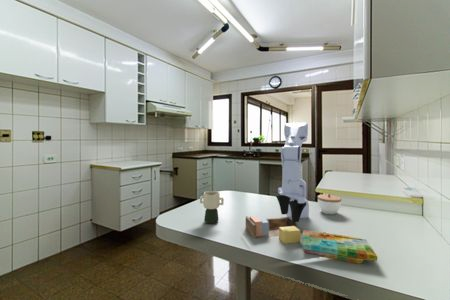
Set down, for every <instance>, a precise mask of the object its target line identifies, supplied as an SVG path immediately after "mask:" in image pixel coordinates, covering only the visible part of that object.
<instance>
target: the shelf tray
mask: <svg viewBox="0 0 450 300" xmlns="http://www.w3.org/2000/svg"><path fill="white" fill-rule="evenodd" d="M290 218H292V217H290ZM265 219H266V220H267V221H268V222H269V235H268V236H258V237H256V224H255V223H254V222H253V221H252V220H251V219H250V216H245V230H246V231H247V232H248V234H249V235H250V236H251V237H252V239H260V238H269V237H270V238H271V237H279V227H287V216H285V217H284V216H282V217H274V218H273V217H271V218H265ZM302 233H303V232H300V234H302Z"/></svg>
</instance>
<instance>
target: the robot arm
mask: <svg viewBox="0 0 450 300" xmlns="http://www.w3.org/2000/svg"><path fill="white" fill-rule="evenodd" d="M283 130H284V131H283V132H284V133H283V134H284V137H285V143H284V146H281V149H280V158H281V167H282V168H281V169H282V173H281V174H282V177H281V178H282V179H281V181H282V182H281V187H278V188H277V194H276V195H275V197H276V199H277V201H278V204H279V210H280V212H281V213H280V214H281V215H286V217H292V222H298V223H299V221H300V219H304V218H309V217H310V216H309V214H310V213H309V212H310V205H309V201H308V199H307V183H306V181H305V180H304V179H302V177H301V163H302V162H301V161H302V145H303V143H305V142H307V140H308V136H309V134H308V133H309V132H308V131H309V124H308V122H296V123H295V122H291V123H290V122H289V123H288V122H287V123H286V122H285V124H284V129H283Z"/></svg>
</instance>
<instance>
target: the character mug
mask: <svg viewBox="0 0 450 300" xmlns="http://www.w3.org/2000/svg"><path fill="white" fill-rule="evenodd" d="M220 200H221V202H220ZM224 200H225V199H224V197H221V196H220V192H219V191H215V190H210V191H208V190H207V191H204V192H203V195H200V197H199V203H200V204H202V205H203V208H204V209H205V213H204V222H205V223H206V224H214V223H218V222H219V211H218V208H219V207H220V206H224Z"/></svg>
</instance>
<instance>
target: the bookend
mask: <svg viewBox="0 0 450 300" xmlns="http://www.w3.org/2000/svg"><path fill="white" fill-rule="evenodd" d="M286 217H287V216H286ZM298 225H299V222H292V218H290V217H287V226H295V227H296V228H298V229H299V230H300V232H303V230H304V229H302V228H300V227H298Z"/></svg>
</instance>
